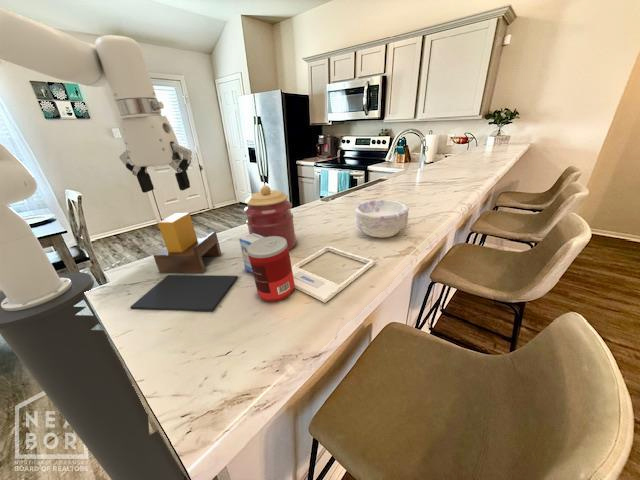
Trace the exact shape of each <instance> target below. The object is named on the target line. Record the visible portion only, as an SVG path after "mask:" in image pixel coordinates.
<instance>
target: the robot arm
mask: <svg viewBox="0 0 640 480" xmlns="http://www.w3.org/2000/svg"><path fill="white" fill-rule="evenodd" d="M0 60H2V61H6V62H8V63H11V64H14V65H16V66H19V67H22V68H25V69H27V70H31V71H33V72H37V73H39V74H42V75H45V76H48V77H51V78H54V79H57V80H61V81H64V82H70V83H74V84H77V85H78V84H79V85H83V86H87V87H90V88H91V87H93V88H101V87H106V86H109V88H110V91H111V93H112V96H113V98H114V101H115V104H116V108H117V110H118V112H119V116H120V119H119V123H120V129H121V133H122V137H123V141H124V145H125V147H126V150H125V151H124V152H122V153H121V154H120V155H119V158H118V159H119V160H120V161H121V162H122V163H123V165H124V166H125V168H126V169H127V170H129V171H130V172H131V173H132V175H133V176H135V177H136V178H137V181H138V184H139V187H140V189H141V192H142V193H144V194H145V193H148V192H151V191H154V189H155V187H154V184H153V181H152V179H151V175H150V174H149V172H147V169H148V168H149V167H156V166H167V165H169V166H170V167H171V168H172V169H173V170H175V171H176V172H175V173H174V176H175V179H176V183H177V185H178V188H179V190H180V191H185V190H188V189H190V188H191V184H190V179H189V176H188V172H187V171H188V170H189V167H190V164H191V163H192V161H191V159H192V154H193V152H192V150H191V149H189V148H187V147H186V146H185V147H184V146H182V145H180V144H179V140H178V138H177V136H176V134H175V131H174V129H173V127H172V124H171V123H170V121H169V119H168V117H167V116H166V115H163V114H162V109H164V107H165V106H164V103H163V102H162V101H159V100H158V98H157V95H156V91H155V88H154V84H153V81H152V77H151V74H150V71H149V68H148V65H147V61H146V59H145V55H144V52H143V49H142V47H141V45H140V44H139V43H138V41H136V40H135V39H133V38H131V37H128V36H124V35H119V34H118V35H117V34H116V35H115V34H108V35H102V36H99V37H97V38H96V39H95V42H94V44H93V43H90V42H87V41H84V40H81V39H79V38H77V37H74V36H72V35H71V34H69V33H66V32H64V31H61V30H59V29H57V28H54V27H52V26H49V25H48V24H47V25H46V24H44V23H43V22H40V21H37V20H34V19H31V18H29V17H26V16H24V15H21V14H19V13H16V12H14V11H11V10H9V9H6V8H4V7H1V6H0ZM37 188H38V184H37V180H36V179H35V176H34V175H33V173H32V172H31V171H30V170H29V168H27V166H26V165H25V164H24V163H23V162H21V160H20V159H18V158H17V157H16V155H14V154H13V153H12V152H11V151H10V150H9V149H8V148H7V147H6V146H5V145H4V144H3V143H2V142H1V141H0V292H2V293H3V295H6V298H5V299H4V300H3V301H2V303H1V307H2V308H3V309H4V310H6V311H19V310H24V309H28V308H31V307H35V306H38V305H40V304H43V303H46V302H48V301H50V300H52V299H54V298H56V297H58V296H60V295H61V294H63V293H64V292H66V291H67V290H68V289H69V288H70V287H71V285H72V282H71V281H70V279H68V278H59V276H58V275H59V274H58V273H57V270H56V269H55V267H54V265H53V263H52V262H51V260H50V259H49V256H48V255H47V253H46V251H45V249H44V248H43V246H42V245H41V243H40V241H39V239H38V237H37V236H36V234H35V232H34V231H33V229H32V227H31V225H30V224H29V222H28V221H27V220H26V219H25V218H24V217H23V216H22V215H21V214H19V213H18V212H17V211H15V210H14V209H13V208H11V207H10V206H9V205H13V204H16V203H19V202H22V201H24V200H28V199H29V198H31V197H33V196H34V195H35V193H36V191H37V190H38V189H37Z"/></svg>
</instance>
